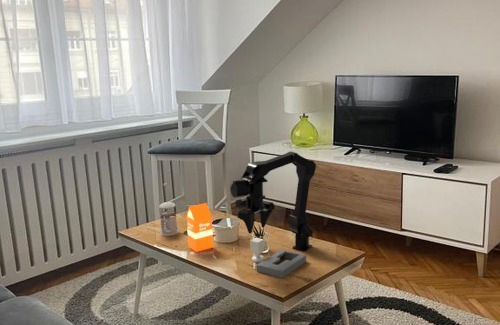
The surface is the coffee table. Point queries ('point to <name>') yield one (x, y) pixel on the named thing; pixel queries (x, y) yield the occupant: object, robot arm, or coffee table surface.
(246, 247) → the coffee table surface
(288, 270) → the keyhole board
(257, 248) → the keyhole peg
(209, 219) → the orange juice
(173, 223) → the french press
